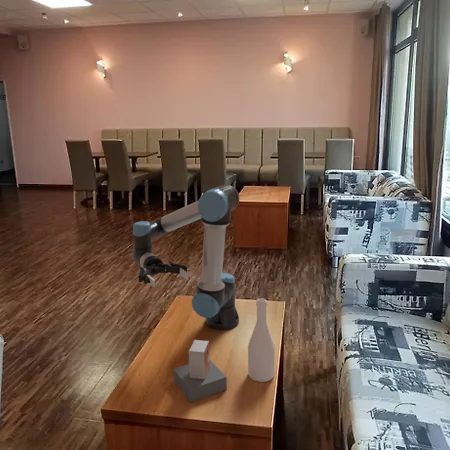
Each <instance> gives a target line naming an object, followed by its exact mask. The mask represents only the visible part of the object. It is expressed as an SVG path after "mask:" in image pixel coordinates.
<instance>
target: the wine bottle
mask: <svg viewBox="0 0 450 450" xmlns="http://www.w3.org/2000/svg"><path fill="white" fill-rule="evenodd" d="M255 304H256V321H255V325H254V327H253V331H252V334H251V336H250V339H249V342H248V345H247V374H248V377H249V378H250V379H251V380H253V381H254V382H257V383H265V382H269V381H271V380H272V379H273V378H274V376H275V359H276V358H275V357H276V356H275V353H276V352H275V349H276V347H275V343H274V340H273V337H272V334H271V332H270V329H269V325H268V322H267V306H268V301H267V299H266V298H263V297H260V298H257V299H256V303H255Z"/></svg>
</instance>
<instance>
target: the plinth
mask: <svg viewBox="0 0 450 450" xmlns="http://www.w3.org/2000/svg"><path fill="white" fill-rule="evenodd" d="M172 370H173V371H172V372H173V382H174V384H176V387H178V388H179V390H180V391H181V393H183V395H184V396H185V398H186V399H187V400H188V402H189V403H193V402H195V401H199V400H201V399H204V398H207V397H210V396H212V395H215V394H218V393H222V392H224V391H227V389H228V388H227V387H228V386H227V384H228V382H227V381H228V380H227V376H226V375H225V374H224V372H223V371H221V369H220V368H219V367H218V366H216V364H215V363H214V362H213V361H212V360H211V359H210V368H209V370H208V373H207V375H206V378H205V379H196V378H190V372H189V363H188V364H184V365H181V366H178V367H174V368H173V369H172Z"/></svg>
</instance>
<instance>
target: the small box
mask: <svg viewBox="0 0 450 450" xmlns="http://www.w3.org/2000/svg"><path fill="white" fill-rule="evenodd" d="M210 360H211V359H210V340H200V339H194V340H193V342H192V344H191V346H190V348H189V350H188V364H189V372H190V378H196V379H205V378H206V375H207V373H208V370H209V368H210Z"/></svg>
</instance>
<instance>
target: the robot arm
mask: <svg viewBox="0 0 450 450" xmlns="http://www.w3.org/2000/svg"><path fill="white" fill-rule="evenodd" d="M199 197H200V198H199V199H198V200H197V201H194V202H192V203H191V204H188V205H185V206H183V207H181V208H179V209H176V210H174V211H172V212H171V213H168V214H166V215H164V216H162V217H159V218H156V219H154V220H152V221H147V220H146V221H145V220H142V221H137V222H134V223H133V225H132V229H133V230H132V231H133V232H132V234H133V235H132V236H133V247H134V249H133V251H132V256H131V257H132V259H133V260H134V262H135V263H136V264H137V265H138V266H140V267H139V274H138V282H139V283H142V282H143V284H149V285H150V286H151V287H152V288H156V279H154V278H153V277H154V276H156V275H159V274H168V273H171V274H177V275H178V274H179V275H180V276H181V277H182V278H183V279H185V280H186V281H189V272H188V266H187V265H184V264H178V263H175V262H172V261H169V262H168V263H167V264H166V263H164V262H163V260H162V259H161V258H159V257H158V256H157V255H155V254H154V253H153V244H152V242H153V240H156V239H157V238H160V237H161V236H163V235H165V234H168V233H170V232H173V231H175V230H178V229H179V228H182V227H184V226H187V225H189V224H191V223H192V224H193V222H196V221H198V220H200V222H201V223H202V224H203V225H204V227H203V229H204V232H203V244H202V256H201V272H200V279H199V280H198V281H197V283H196V293H195V294H194V295H193V297H192V299H191V308H192V309H193V311H194V312H195V313H196V315H198V316H199V317H201V318H205V324H206V325H207V327H208V328H211V329H214V330H219V331H221V330H232V329H233V328H236V327H237V326H238V325H239V323H240V317H239V316H240V315H239V313H238V311H237V307H236V282H235V281H236V279H235V276H234V275H233V274H231V273H227V272H223V268H224V267H223V265H224V255H225V244H226V231H227V227H228V226H229V225H230V224H231V216H232V212H233V211H235V209H236V208H237V207H238V206H239V203H240V194H239V192H238V190H237V189H236V188H235V187H234V186H232V185H230V184H221V185H219V186H216V187H214V188H210V189H208V190H206V191H205V192H204V193H203V194H202V195H201V196H199Z"/></svg>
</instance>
